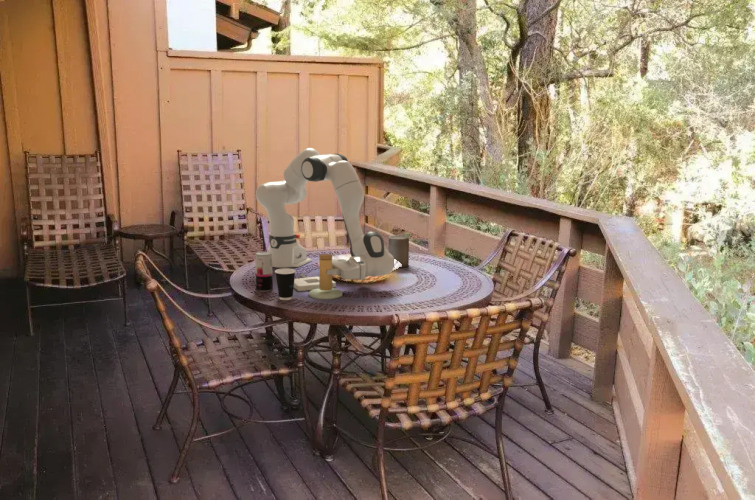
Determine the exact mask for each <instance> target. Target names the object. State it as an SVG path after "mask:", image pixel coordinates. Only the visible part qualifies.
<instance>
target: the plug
mask: <svg viewBox="0 0 755 500" xmlns="http://www.w3.org/2000/svg"><path fill="white" fill-rule="evenodd" d="M318 256H319V258H318V260H319V263H318V264H319V265H318V269H319V272H318V274H319V289H320V290H324V291H327V290H332V280H333V275H327V274H326V270H327V269H331V270H332V259H333V254H330V253H322V254H319V255H318Z"/></svg>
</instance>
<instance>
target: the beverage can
mask: <svg viewBox="0 0 755 500" xmlns="http://www.w3.org/2000/svg"><path fill="white" fill-rule="evenodd" d="M273 276H274V275H273V267H272V253H271V252H268V251H257V252H256V253H255V287H256V288H255V289H256V290H257V292H263V293H264V292H271V291H272V290H273V289H274V287H273V282H274V281H273Z"/></svg>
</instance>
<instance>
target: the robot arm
mask: <svg viewBox="0 0 755 500" xmlns="http://www.w3.org/2000/svg"><path fill="white" fill-rule="evenodd" d="M326 181H327V182H328V181H330V182H331V184H332V186H333V188H334V191H335V195H336V197H337V201H338V203H339V207H340V210H341V215H342V219H343V223H344V226H345V228H346V229H345V230H346V233H347V236H348V240H349V253H350V255H351V256H350V257H349V259H347V260H346V259H342V258H332V270H331V269H327V270H326V274H327V275H332V276H338V277H340V278H342V279H343V280H349V281H350V280H359V281H365V280H366V278H367V277H373V278H374V277H382V276H386V275H388V274H389V275H390V274H391V273H392V271H393V270H394V268H395V267H394V258H393V256H392V255H391V254H390V253H389V252H388V249H387V247H386V245H385V241H384V239H383V237H382V235H381V233H378V232H376V231H373V230H372V231H367V232H366V233H365V234H364V232H363V228H362V225H361V222H360V216H359V215H360V210H361V207H362V205H363V202H364V199H365V193H364V188H363V185H362V182H361V181H360V178H359V175H358V174H357V172H356V170H355V168H354V166H353V165H352V163H351V162H350V161H349V160H348V158H347V157H346V155H343V154H340V153H324V154H320V152H319V151H318V150H317V149H315V148H312V147H307V148H305V149H303V150H302V151H300V152H299V153H298V154H297V155H296V156H295V157H294V158H293V159H292V160H291V162H290V163H289V164H288V165H287V166H286V168H285V169H284V171H283V179H282V180H278V181H277V180H275V181H267V182H264V183H261V184H259V185H258V186H257V188H256V191H255V198H256V201H257V202H258V204H259V205H261V206H262V207H263V208H264V209H265V211H266V213H267V217H268V220H269V234H268V236H269V237H268V243H269V245H268V249H267V250H268V251H267V252H271V253H272V268H278V269H283V268H300V267H301V266H303V265H305V264H308V263H310V262H312V258H311V257H307V250H306V248H305V247H304V246H302V244H300V243H299V242H298V241H297V239H300V238H301V235H300V234H298V233H296V234H295V218H294V217H293V216H292V215H291V214H290V213H289V212H287V211H286V206H285V205H293V204H298V203H300V202H303V201H305V199H306V196H307V187H306V184H307V183H308V182H312V183H313V182H315V183H316V182H326Z"/></svg>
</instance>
